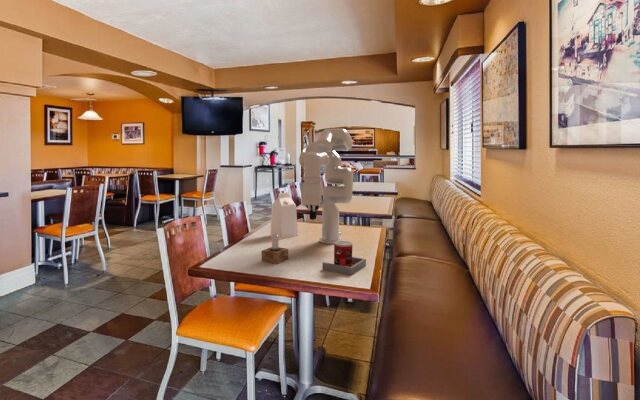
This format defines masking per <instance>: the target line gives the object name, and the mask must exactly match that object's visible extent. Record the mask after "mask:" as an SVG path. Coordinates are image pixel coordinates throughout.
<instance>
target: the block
mask: <svg viewBox="0 0 640 400" xmlns="http://www.w3.org/2000/svg"><path fill="white" fill-rule="evenodd" d="M260 252H261V254H260V255H261V262H265V263H271V264H274V265H278V264H281V263H283V262H285V261H287V260H289V259H290V257H289V248H287V247H286V248H284V247H280V246H278V251H276V252H275V251H272V246H270V247H267V248H264V249H263V250H261V251H260Z"/></svg>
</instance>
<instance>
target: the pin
mask: <svg viewBox="0 0 640 400" xmlns="http://www.w3.org/2000/svg"><path fill="white" fill-rule="evenodd" d="M278 237H279V235H277V234H274V235H272V236H271V247H272V251H275V252H276V251H278V247H279V238H278Z"/></svg>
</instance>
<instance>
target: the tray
mask: <svg viewBox="0 0 640 400" xmlns="http://www.w3.org/2000/svg"><path fill="white" fill-rule="evenodd" d="M366 266H367V259H366V258H363V257H362V258H361V257H356V256H352V266H351V267H348V266H342V265H336V264H334V263H330V262H322V266H321V267H322V268H321V269H322V271H323V270H324V271H329V272H334V273H339V274H343V275H344V274H345V275H349V276H352V275H354V274H355V273H357V272H358V271H360V270H361V269H363V268H364V267H366Z"/></svg>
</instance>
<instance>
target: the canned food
mask: <svg viewBox="0 0 640 400" xmlns="http://www.w3.org/2000/svg"><path fill="white" fill-rule="evenodd" d="M333 246H334V247H333V264H336V265H342V266H348V267H351V266H353V264H352V257H353V242H351V241H347V240H342V241H337V242H335V243H334V244H333Z"/></svg>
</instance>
